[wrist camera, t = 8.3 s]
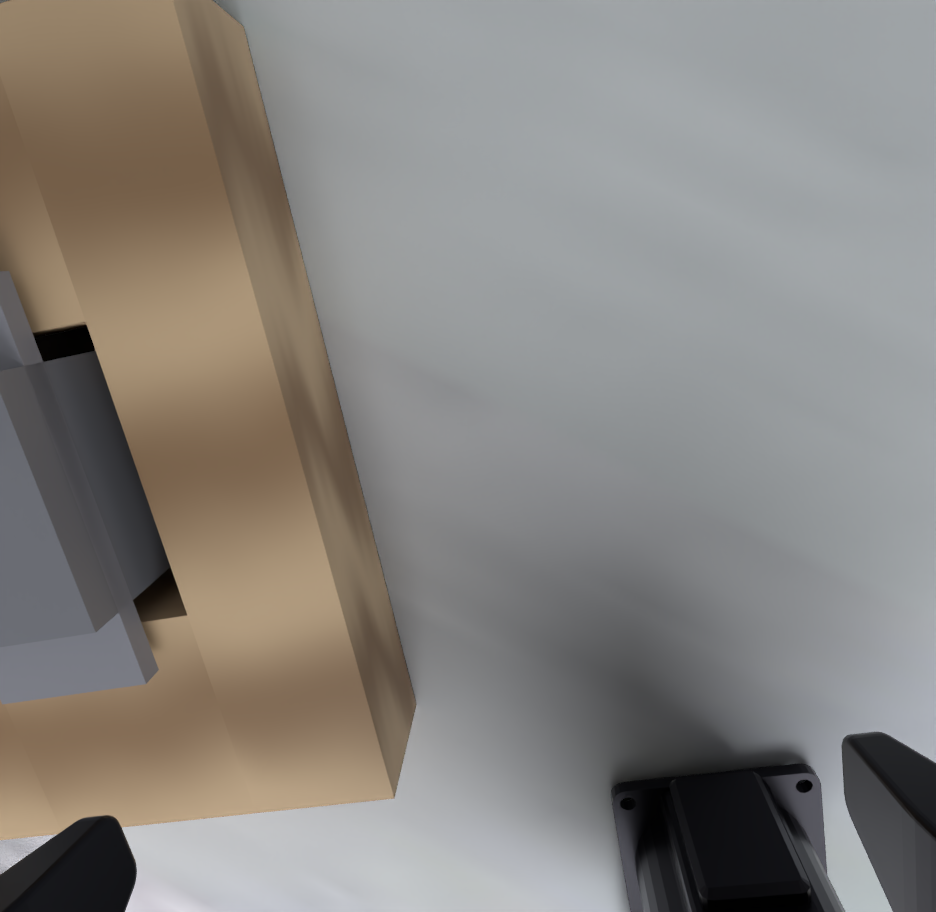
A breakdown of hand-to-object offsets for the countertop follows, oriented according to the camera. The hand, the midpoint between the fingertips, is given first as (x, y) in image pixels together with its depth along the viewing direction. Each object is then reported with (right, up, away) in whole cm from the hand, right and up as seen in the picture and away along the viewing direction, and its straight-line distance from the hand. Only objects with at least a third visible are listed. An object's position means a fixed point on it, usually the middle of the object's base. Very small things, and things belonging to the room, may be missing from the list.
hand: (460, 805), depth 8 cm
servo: (-10, +4, +12) cm, 17 cm away
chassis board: (-10, +4, +12) cm, 17 cm away
